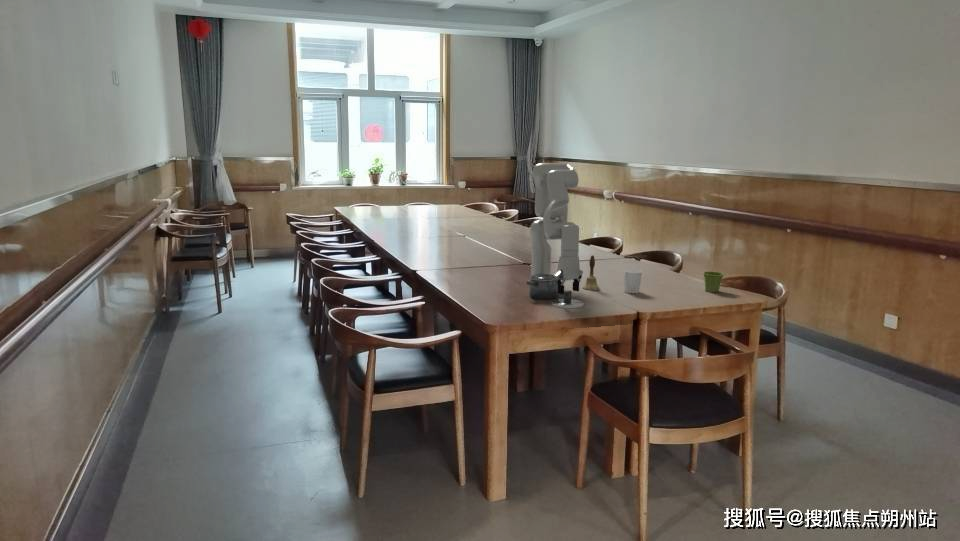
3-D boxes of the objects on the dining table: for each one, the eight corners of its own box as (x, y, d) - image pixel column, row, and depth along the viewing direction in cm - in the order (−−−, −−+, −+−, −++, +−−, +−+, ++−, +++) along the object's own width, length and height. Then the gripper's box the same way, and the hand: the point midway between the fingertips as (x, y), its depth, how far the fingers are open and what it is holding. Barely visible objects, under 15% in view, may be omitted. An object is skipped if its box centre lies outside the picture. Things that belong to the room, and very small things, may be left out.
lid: (565, 299, 289) (566, 286, 288) (590, 305, 279) (591, 292, 278) (544, 304, 280) (545, 290, 279) (568, 310, 270) (569, 296, 269)
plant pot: (724, 290, 308) (725, 272, 307) (720, 294, 300) (721, 276, 299) (704, 288, 313) (705, 270, 311) (699, 291, 305) (701, 273, 303)
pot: (546, 290, 303) (546, 272, 301) (567, 296, 293) (568, 276, 292) (519, 296, 292) (519, 277, 290) (540, 302, 282) (541, 282, 280)
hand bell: (579, 287, 312) (580, 254, 309) (594, 286, 315) (595, 253, 312) (587, 290, 304) (589, 257, 301) (603, 289, 307) (604, 256, 304)
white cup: (628, 294, 298) (629, 273, 296) (620, 290, 306) (621, 270, 304) (643, 293, 300) (644, 272, 298) (635, 289, 308) (636, 269, 306)
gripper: (576, 250, 283) (574, 288, 286) (549, 254, 272) (548, 293, 275) (589, 252, 278) (588, 291, 281) (562, 256, 266) (561, 296, 269)
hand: (568, 292), depth 278 cm, fingers open, 9 cm apart
